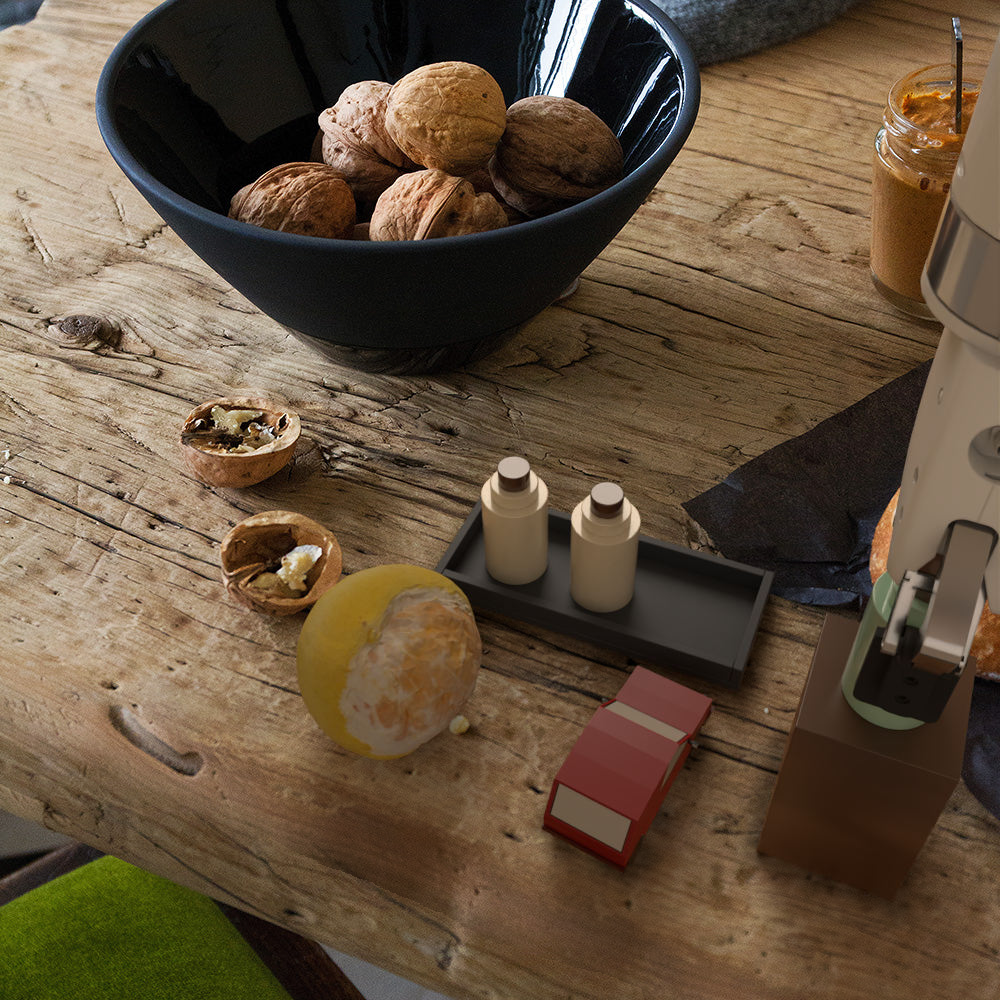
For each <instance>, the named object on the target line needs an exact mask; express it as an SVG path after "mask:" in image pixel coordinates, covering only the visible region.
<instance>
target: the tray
mask: <svg viewBox="0 0 1000 1000" xmlns="http://www.w3.org/2000/svg"><path fill="white" fill-rule="evenodd" d="M571 515H572V513H569V512H564V511H562V510H557V509H556V508H555V509H554V508H551V507H548V565H547V568H546V570H545V572H544V573H543V574H542V575H541V576H540V577H539V578H538V579H536V580H535V581H533V582H530V583H527V584H522V585H510V584H505V583H502V582H500V581H498V580H496V579H495V578H493V577H492V576H491V575H490V574H489V572H488V571H487V568H486V565H485V553H484V537H483V521H482V505H481V496H480V497H479V498H478V499H477V501H476V503H475V505H474V506H473V508H472V509H471V510H470V513H469V514H468V515H467V517H466V519H465V520H464V522H463V524H462V525H461V527H460V528H459V530H458V532H457V533H456V534H455V536H454V538H453V540H452V541H451V542H450V544H449V546H448V548H447V549H446V551H445V552H444V554H443V556H442V557H441V558H440V560H439V561H438V563H437V565H436V566H435V568H434V570H433V571H435V572H437V573H439V574H441V575H443V576H445V577H446V578H448V579H449V580H451V581H452V582H453V583H454V584H455V585H457V586H458V587H459V588H460V589H461V590H462V592H463V593H464V594H465V596H466V597H467V599H468V601H469V603H470V606H474V607H478V608H480V609H483V610H487V611H489V612H493V613H496V614H499V615H502V616H505V617H508V618H511V619H513V620H514V619H515V620H517V621H521V622H522V623H523V622H524V623H526V624H530V625H532V626H535V627H538V628H541V629H546V630H548V631H551V632H554V633H557V634H560V635H563V636H566V637H569V638H572V639H575V640H579V641H581V642H584V643H588V644H591V645H593V646H597V647H599V648H600V647H601V648H604V649H606V650H609V651H612V652H615V653H619V654H622V655H624V656H628V657H631V658H634V659H636V660H639V661H642V662H646V663H648V664H651V665H655V666H658V667H661V668H664V669H667V670H670V671H673V672H676V673H678V674H679V673H680V674H682V675H685V676H689V677H692V678H694V679H698V680H701V681H704V682H707V683H710V684H713V685H716V686H720V687H723V688H724V689H728V690H732V691H734V692H739V690H740V687H741V684H742V682H743V678H744V674H745V673H746V672H745V671H746V669H747V665H748V662H749V661H750V660H749V659H750V657H751V653H752V650H753V647H754V644H755V642H756V638H757V635H758V632H759V629H760V626H761V622H762V619H763V617H764V614H765V610H766V607H767V605H768V601H769V598H770V596H771V591H772V588H773V583H774V579H775V575H776V573H775V572H773V571H770V570H765V569H763V568H760V567H755V566H752V565H749V564H745V563H742V562H739V561H735V560H731V559H728V558H724V557H721V556H718V555H714V554H711V553H707V552H705V551H704V552H703V551H701V550H697V549H693V548H690V547H687V546H683V545H679V544H676V543H673V542H669V541H665V540H662V539H658V538H655V537H651V536H648V535H645V534H642V533H640V536H639V546H638V557H637V567H636V578H635V588H634V594H633V597H632V599H631V600H630V601H629V603H628V604H627V605H625V606H624V607H622V608H621V609H619V610H616V611H612V612H605V613H601V612H594V611H590V610H587V609H585V608H583V607H582V606H580V605H579V604H578V603H577V602H576V601H575V600H574V599H573V597H572V595H571V593H570V589H569V578H570V540H571Z"/></svg>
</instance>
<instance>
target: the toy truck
mask: <svg viewBox="0 0 1000 1000" xmlns="http://www.w3.org/2000/svg"><path fill="white" fill-rule="evenodd" d="M713 700H714V699H712V697H711V696H710V695H709V694H708V693H707V694H706V693H700V692H697V691H695V690H693V689H691V688H689V687H686V686H684V685H682V684H680V683H678V682H676V681H673V680H671V679H668V678H667V677H664V676H662V675H660V674H658V673H655V672H654V671H652V670H649V669H648V668H647V666H645V665H641V666H640V665H636V667H635V668H634V670H633V671H632V673H631V674H630V675H629V677H628V678H627V680H626V681H625V683H624V684H623V685H622V687H621V688H620V689H619V691H618V692H617V694H615V697H613V698H611V699H610V700H609V699H608V698H605V697H603V698H602V699H601V700H600V701H601V705H599V706H598V707H597V709H596V710H595V712H594V714H593V715H592V717H591V718H590V720H589V721H588V723H587V725H586V726H585V727H584V729H583V731H582V732H581V734H580V735H579V738H577V740H576V742H575V744H574V745H573V747H572V748H571V750H570V752H569V753H568V755H567V756H566V758H565V760H564V761H563V762H562V765H561V766H560V767H559V769H558V771H557V773H556V775H555V776H554V778H553V781H552V785H551V788H550V791H549V794H548V795H549V796H548V799H547V803H546V806H545V809H544V812H543V823H542V824H541V830H542V831H544V832H545V833H548V834H550V835H551V836H553V837H555V838H557V839H559V840H560V841H562V842H564V843H566V844H567V845H570V846H572V847H574V848H575V849H577V850H578V851H581V852H582V853H584V854H586V855H588V856H590V857H592V858H593V859H596V860H597V861H599V862H601V863H603V864H604V865H607V866H609V867H610V868H612V869H614V870H616V871H618V872H619V873H621V874H623V875H624V874H625V872H626V869H627V867H628V868H630V867H631V866H632V864H633V863H634V861H635V859H636V858H637V855H638V853H639V850H640V848H641V846H642V843H643V840H644V836H646V834H647V832H648V830H649V829H650V827H651V825H652V823H653V821H654V819H655V817H656V815H657V814H658V812H659V810H660V808H661V806H662V804H663V802H664V800H665V799H666V797H667V795H668V793H669V791H670V790H671V788H672V786H673V784H674V782H675V779H676V778H677V776H678V774H679V773H680V771H681V769H682V768H683V766H684V763H685V761H686V760H687V758H688V756H689V755H691V753H692V752H693V751H694V750H695V749H699V746H700V742H698V740H699V738H700V736H701V732H702V729H703V727H705V725H706V724H707V722H708V721H709V719H710V717H711V716H712V715H713V713H714V711H715V710H716V707H714V706H713Z"/></svg>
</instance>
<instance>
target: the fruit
mask: <svg viewBox="0 0 1000 1000" xmlns="http://www.w3.org/2000/svg"><path fill="white" fill-rule="evenodd" d="M482 643H483V642H482V639H481V635H480V632H479V629H478V627H477V624H476V619H475V615H474V612H473V609H472V605H471V604H470V603H469V601H468V599H467V597H466V596H465V594H464V593H463V592H462V590H461V589H460V588H459V587H458V586H457V585H455V584H454V583H453V582H452V581H451V580H449V579H448V578H446V577H445V576H443V575H441V574H439V573H437V572H435V571H434V570H431V569H428V568H425V567H421V566H417V565H413V564H406V563H390V564H382V565H377V566H374V567H369V568H365V569H363V570H359V571H357V572H353V573H351V574H349V575H347V576H345V577H344V578H343V579H341V580H340V581H338V582H337V583H336V584H335V585H332V587H329V588H328V589H327V590H326V591H325V592H324V593H323V594H322V595H321V596H320V597H319V598H318V600H317V601H316V602H315V604H314V605H313V606H312V608H311V610H310V612H309V613H308V615H307V617H306V618H305V621H304V623H303V625H302V627H301V629H300V634H299V637H298V640H297V645H296V654H295V655H296V658H295V664H296V665H295V666H296V675H297V676H296V678H297V682H298V687H299V691H300V694H301V697H302V700H303V702H304V704H305V707H306V709H307V710H308V713H309V714H310V716H311V718H312V719H313V721H314V722H315V723H316V725H317V726H318V727H319V729H320V730H321V731H322V732H323V733H324V734H325V736H327V737H328V738H329V739H330V740H331V741H333V742H334V743H336V744H337V745H339V746H340V747H342V748H343V749H344V750H347V751H350V752H352V753H355V754H357V755H360V756H362V757H365V758H368V759H371V760H376V761H393V760H397V759H400V758H403V757H406V756H409V755H410V754H411V753H413V752H415V751H416V750H418V749H419V748H420V747H421V745H423V744H427V743H428V741H430V740H431V739H433V738H434V737H436V736H437V735H439V734H441V733H442V732H443V731H445V729H447V728H448V727H449V726H450V725H451V723H452V722H453V721H454V719H455V717H456V716H457V714H458V713H459V712H461V711H463V709H464V708H465V706H466V705H467V703H468V702H469V699H470V697H471V696H472V695H473V693H474V692H475V690H476V686H477V680H478V677H479V672H480V669H481V665H482V661H483V644H482Z"/></svg>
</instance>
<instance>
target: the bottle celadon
mask: <svg viewBox="0 0 1000 1000" xmlns="http://www.w3.org/2000/svg"><path fill="white" fill-rule="evenodd" d="M941 557H942V554H938V553H936V556H935V558H933V559H932V560H931V561H929V562H928V563H927V564H925V565H924V566H923V567H921V568H920V569H919V570H923V571H926V572H930V573H933V574H937V572H938V569H939V565H940V561H941ZM898 587H899V585H897V584H896V583H895V582H894V581H893V580H892V578H891V577H890V575H889V573H888V571H887V570H886V571H884V572H883V573H881V574H880V575H879V577H877V579H876V580H875V582H874V583H873V586H872V590H871V592H870V595H869V597H868V601H867V603H866V606H865V609H864V612H863V615H862V617H861V621H860V622H859V623H860V626H859V629H858V632H857V635H856V637H855V640H854V643H853V646H852V649H851V652H850V655H849V657H848V660H847V663H846V666H845V669H844V672H843V675H842V690H843V693H844V696H845V698H846V700H847V701H848V703H849V704H850V706H851V707H852V708H853V709H854V710H855V711H856V712H857V713H858V714H859V715H860V716H861V717H863V718H864V719H866V720H867V721H869V722H871V723H873V724H875V725H878V726H880V727H884V728H887V729H894V730H907V729H912V728H915V727H918V726H920V725H922V724H924V723H925V722H922V721H919V720H916V719H913V718H905V717H901V716H898V715H895V714H891V713H889V712H886V711H884V710H883V709H881V708H879V707H876V706H873V705H870V704H867V703H864V702H861V701H858V700H857V699H855V698H854V696H853V690H854V686H855V682H856V679H857V677H858V674H859V672H860V669H861V667H862V664H863V661H864V659H865V656H866V654H867V651H868V649H869V646H870V644H871V641H872V639H873V636H874V634H875V631H876V628H877V626H879V627H882V628H883V627H886V625H887V622H888V619H889V615H890V612H891V609H892V606H893V603H894V599H895V596H896V593H897V590H898ZM931 595H932V594H931V593H928V592H924V591H921V590H918V589H917V590H916V593H915V597H914V600H913V603H912V606H911V609H910V613H909V616H908V619H907V622H906V624H907V625H910V626H914V627H917V628H920V627H921V626H922V624H923V622H924V619H925V616H926V613H927V610H928V606H929V602H930V599H931Z"/></svg>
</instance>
